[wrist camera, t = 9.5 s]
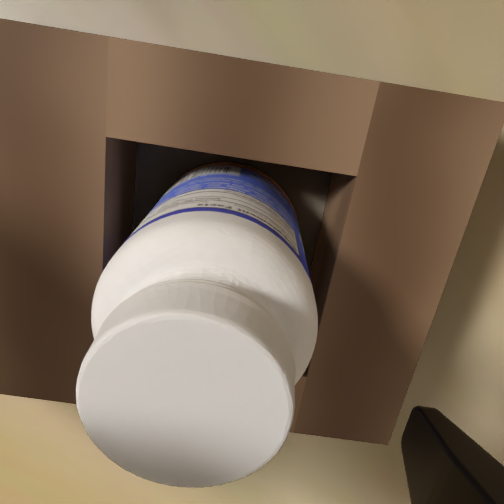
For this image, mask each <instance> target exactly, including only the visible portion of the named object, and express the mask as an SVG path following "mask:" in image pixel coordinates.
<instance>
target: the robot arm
mask: <svg viewBox="0 0 504 504" xmlns="http://www.w3.org/2000/svg"><path fill="white" fill-rule="evenodd" d="M401 448H402V454H403V460H404V465H405V471H406V476H407V482H408V488H409V493H410V499H411V504H504V466H503V465H502V464H501V463H499V462H498V461H497V460H496V459H495V458H494V457H492V456H491V455H490V454H489V453H488V452H487V451H485V450H484V449H483V448H482V447H481V446H480V445H478V444H477V443H476V442H475V441H474V440H472V439H471V438H470V437H469V436H468V435H467V434H465V433H464V432H463V431H462V430H461V429H460V428H458V427H457V426H456V425H455V424H454V423H453V422H451V421H450V420H449V419H448V418H447V417H446V416H444V415H443V414H442V413H441V412H440V411H438V410H437V409H435V408H430V407H423V406H416V407H414V408H413V410H412V411H411V414H410V417H409V419H408V422H407V425H406V427H405V430H404V433H403V436H402V440H401Z"/></svg>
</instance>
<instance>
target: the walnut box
mask: <svg viewBox="0 0 504 504" xmlns="http://www.w3.org/2000/svg"><path fill="white" fill-rule="evenodd" d="M503 124H504V102H499V101H493V100H487V99H481V98H475V97H469V96H463V95H457V94H451V93H445V92H439V91H433V90H427V89H421V88H415V87H409V86H403V85H397V84H391V83H385V82H379V81H373V80H367V79H361V78H355V77H349V76H343V75H337V74H331V73H325V72H319V71H313V70H307V69H301V68H295V67H289V66H283V65H277V64H271V63H265V62H259V61H253V60H247V59H241V58H235V57H229V56H223V55H217V54H211V53H205V52H199V51H193V50H187V49H181V48H175V47H169V46H163V45H157V44H151V43H145V42H139V41H133V40H127V39H121V38H115V37H109V36H103V35H97V34H91V33H85V32H79V31H73V30H67V29H60V28H54V27H48V26H42V25H36V24H30V23H24V22H18V21H12V20H6V19H0V394H5V395H12V396H20V397H28V398H35V399H43V400H50V401H58V402H66V403H73V404H76V383H77V377H78V374H79V370H80V367H81V364H82V361H83V359H84V357H85V355H86V353H87V352H88V350H89V348H90V347H91V345H92V343H93V341H94V337H93V332H92V325H91V310H92V302H93V296H94V292H95V289H96V286H97V283H98V281H99V278H100V276H101V274H102V272H103V271H104V269H105V267H106V266H107V264H108V262H109V261H110V260H111V258H112V257H113V256H114V254H115V253H116V252H117V251H118V249H119V248H120V247H121V246H122V245H123V243H124V242H125V241H126V240H127V238H128V237H129V236H130V235H131V234H132V231H133V211H134V192H135V173H136V154H137V142H142V143H149V144H155V145H161V146H168V147H174V148H180V149H187V150H193V151H199V152H206V153H212V154H219V155H225V156H231V157H238V158H244V159H250V160H257V161H263V162H269V163H276V164H282V165H289V166H295V167H301V168H308V169H314V170H320V171H327V172H333V174H332V178H331V182H330V187H329V191H328V196H327V200H326V205H325V209H324V213H323V218H322V222H321V227H320V231H319V236H318V240H317V244H316V249H315V253H314V258H313V262H312V267H311V271H310V279H311V283H312V287H313V292H314V296H315V301H316V307H317V315H318V332H317V339H316V344H315V348H314V351H313V354H312V357H311V360H310V362H309V364H308V366H307V368H306V370H305V372H304V373H303V375H302V376H301V378H300V379H299V380H298V382H297V383H296V385H295V409H294V417H293V422H292V426H291V429H290V431H289V432H293V433H301V434H308V435H316V436H324V437H331V438H339V439H346V440H354V441H362V442H369V443H377V444H384V445H388V443H389V440H390V437H391V434H392V432H393V429H394V426H395V423H396V420H397V418H398V415H399V412H400V409H401V407H402V404H403V401H404V398H405V396H406V393H407V390H408V387H409V384H410V382H411V379H412V376H413V373H414V371H415V368H416V365H417V362H418V360H419V357H420V354H421V351H422V348H423V346H424V343H425V340H426V337H427V335H428V332H429V329H430V326H431V323H432V321H433V318H434V315H435V312H436V310H437V307H438V304H439V301H440V299H441V296H442V293H443V290H444V287H445V285H446V282H447V279H448V276H449V274H450V271H451V268H452V265H453V263H454V260H455V257H456V254H457V251H458V249H459V246H460V243H461V240H462V238H463V235H464V232H465V229H466V227H467V224H468V221H469V218H470V215H471V213H472V210H473V207H474V204H475V202H476V199H477V196H478V193H479V190H480V188H481V185H482V182H483V179H484V177H485V174H486V171H487V168H488V166H489V163H490V160H491V157H492V154H493V152H494V149H495V146H496V143H497V141H498V138H499V135H500V132H501V130H502V127H503Z"/></svg>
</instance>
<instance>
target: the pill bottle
mask: <svg viewBox="0 0 504 504" xmlns="http://www.w3.org/2000/svg"><path fill="white" fill-rule="evenodd" d="M91 325H92V332H93V337H94V341H93V343H92V345H91V347H90V348H89V350H88V352H87V353H86V355H85V357H84V359H83V361H82V364H81V367H80V370H79V374H78V377H77V383H76V404H77V409H78V412H79V416H80V419H81V421H82V424H83V426H84V428H85V430H86V432H87V434H88V435H89V437H90V438H91V440H92V441H93V442H94V444H95V445H96V446H97V447H98V448H99V449H100V450H101V451H102V452H103V453H104V454H105V455H106V456H107V457H108V458H109V459H110V460H112V461H113V462H114V463H116V464H117V465H119V466H120V467H122V468H123V469H125V470H127V471H129V472H131V473H133V474H135V475H137V476H139V477H142V478H144V479H147V480H150V481H153V482H156V483H160V484H165V485H170V486H177V487H211V486H215V485H222V484H225V483H229V482H233V481H236V480H238V479H241V478H243V477H245V476H248V475H250V474H251V473H253V472H255V471H256V470H258V469H259V468H261V467H262V466H264V465H265V464H266V463H267V462H268V461H269V460H270V459H272V458H273V457H274V455H275V454H276V453H277V452H278V451H279V450H280V448H281V447H282V445H283V444H284V442H285V440H286V439H287V437H288V434H289V431H290V429H291V426H292V422H293V417H294V409H295V385H296V383H297V382H298V380H299V379H300V378H301V376H302V375H303V373H304V372H305V370H306V368H307V366H308V364H309V362H310V360H311V357H312V354H313V351H314V348H315V344H316V339H317V332H318V315H317V307H316V301H315V296H314V292H313V287H312V283H311V279H310V275H309V271H308V266H307V262H306V258H305V252H304V247H303V243H302V238H301V234H300V229H299V224H298V220H297V216H296V213H295V210H294V208H293V206H292V204H291V202H290V200H289V198H288V197H287V195H286V194H285V192H284V191H283V190H282V189H281V188H280V186H279V185H278V184H277V183H276V182H275V181H273V180H272V179H271V178H270V177H268V176H267V175H265V174H264V173H262V172H261V171H259V170H257V169H255V168H253V167H250V166H247V165H243V164H239V163H232V162H216V163H210V164H206V165H202V166H199V167H197V168H195V169H192V170H191V171H189V172H187V173H186V174H184V175H183V176H182V177H180V178H179V179H178V180H176V181H175V182H174V183H173V184H172V185H171V187H170V188H169V189H168V190H167V191H166V192H165V194H164V195H163V196H162V197H161V199H160V200H159V201H158V203H157V204H156V205H155V206H154V208H153V209H152V210H151V211H150V212H149V214H148V215H147V216H146V217H145V218H144V220H143V221H142V222H141V223H140V224H139V226H138V227H137V228H136V229H135V230H134V231H133V233H132V234H131V235H130V236H129V237H128V238H127V240H126V241H125V242H124V243H123V245H122V246H121V247H120V248H119V249H118V251H117V252H116V253H115V254H114V256H113V257H112V258H111V260H110V261H109V262H108V264H107V266H106V267H105V269H104V271H103V272H102V274H101V276H100V278H99V281H98V283H97V286H96V289H95V292H94V296H93V302H92V310H91Z"/></svg>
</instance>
